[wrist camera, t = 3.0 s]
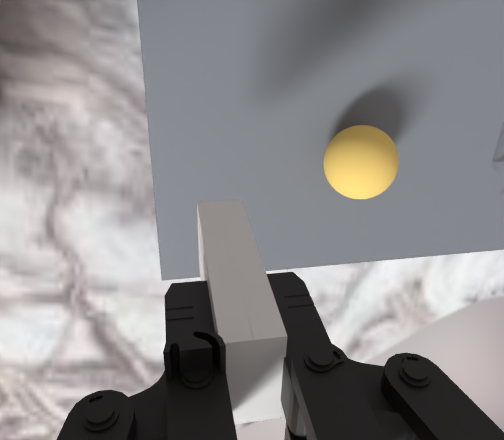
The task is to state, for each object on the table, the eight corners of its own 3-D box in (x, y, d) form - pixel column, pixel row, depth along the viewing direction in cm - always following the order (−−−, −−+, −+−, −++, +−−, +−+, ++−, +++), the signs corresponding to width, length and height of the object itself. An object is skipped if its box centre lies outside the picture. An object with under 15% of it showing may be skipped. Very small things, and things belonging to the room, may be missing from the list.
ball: (306, 176, 24) (328, 209, 21) (324, 110, 22) (351, 135, 19) (368, 183, 25) (396, 215, 22) (389, 120, 23) (424, 146, 20)
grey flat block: (160, 254, 27) (161, 280, 25) (137, -17, 20) (135, -12, 18) (580, 220, 32) (610, 239, 30) (678, -9, 25) (727, -4, 23)
